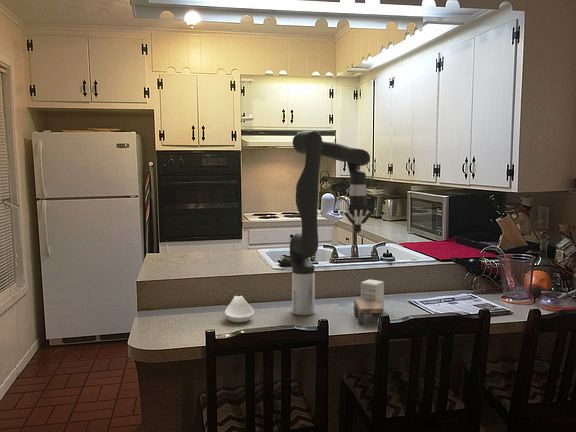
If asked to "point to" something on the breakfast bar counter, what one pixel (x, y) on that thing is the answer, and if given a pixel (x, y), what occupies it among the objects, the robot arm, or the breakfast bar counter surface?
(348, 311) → the breakfast bar counter surface
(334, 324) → the breakfast bar counter surface
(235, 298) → the white conical piece
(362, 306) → the brown block with legs
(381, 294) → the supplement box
